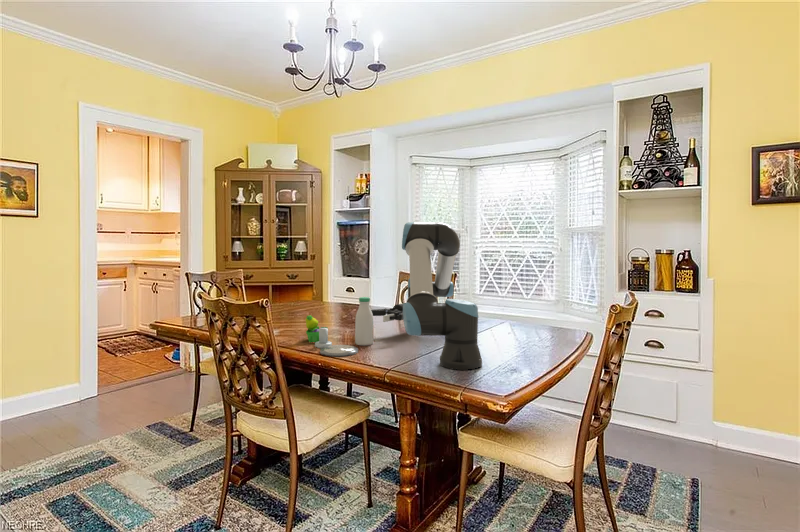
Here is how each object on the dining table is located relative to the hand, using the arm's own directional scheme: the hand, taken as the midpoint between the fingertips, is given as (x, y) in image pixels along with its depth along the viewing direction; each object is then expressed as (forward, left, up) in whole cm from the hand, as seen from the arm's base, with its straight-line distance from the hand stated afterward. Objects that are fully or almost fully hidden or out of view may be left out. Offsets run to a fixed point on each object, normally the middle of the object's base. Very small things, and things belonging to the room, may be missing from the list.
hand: (372, 317), depth 199 cm
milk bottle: (-2, +5, -11) cm, 12 cm away
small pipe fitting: (+2, +22, -11) cm, 24 cm away
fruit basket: (+14, +21, -11) cm, 27 cm away
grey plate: (-10, +20, -11) cm, 25 cm away
